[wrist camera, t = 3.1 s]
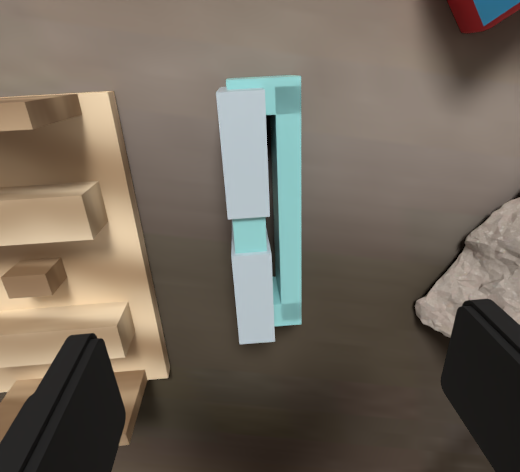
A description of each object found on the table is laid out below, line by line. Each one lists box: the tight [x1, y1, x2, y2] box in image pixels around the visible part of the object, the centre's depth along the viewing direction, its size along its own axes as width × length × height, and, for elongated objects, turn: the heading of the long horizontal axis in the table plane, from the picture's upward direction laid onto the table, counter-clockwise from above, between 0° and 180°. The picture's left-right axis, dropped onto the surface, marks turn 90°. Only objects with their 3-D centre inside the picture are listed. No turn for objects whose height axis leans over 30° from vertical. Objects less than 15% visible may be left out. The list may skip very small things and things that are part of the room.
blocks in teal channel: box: [216, 75, 301, 344], centre depth 20 cm, size 14×4×5 cm, turn 3°
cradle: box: [0, 91, 170, 446], centre depth 20 cm, size 19×12×6 cm, turn 3°
